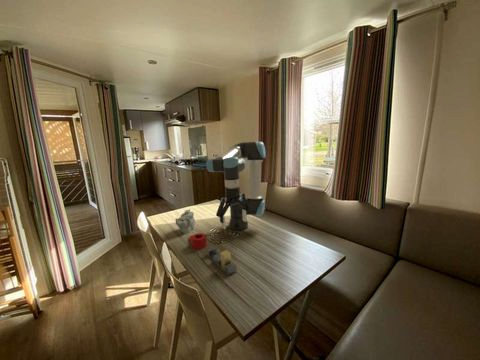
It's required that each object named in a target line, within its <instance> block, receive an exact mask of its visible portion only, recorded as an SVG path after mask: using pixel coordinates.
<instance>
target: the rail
mask: <svg viewBox="0 0 480 360" xmlns="http://www.w3.org/2000/svg"><path fill="white" fill-rule="evenodd" d="M220 253H221V252H219V253H218V249H217V248H216V247H215V246H212V247H209V248H206V256H208V258H209V259H211V260H212V261H213V262H214V263H215V264H216V265H217V266H218V268H220V269H221V270H222V271H223V272H224V273H225V274H226V275H227V276H230V275H232V274H234V273H236V272H237V264H236V263H234V262H232V261H231V263H230V264H227V265H225V270H224V269H223V268H222V267H221V256H220Z"/></svg>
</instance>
